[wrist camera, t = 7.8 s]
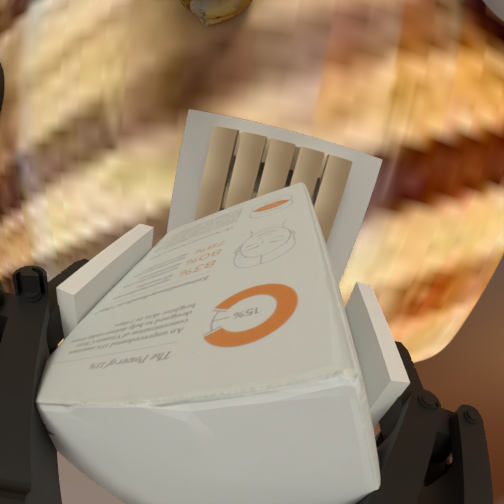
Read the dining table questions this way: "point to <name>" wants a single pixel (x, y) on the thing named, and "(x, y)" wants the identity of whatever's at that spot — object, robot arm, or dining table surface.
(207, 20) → the decorative figurine
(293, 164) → the pallet
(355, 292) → the robot arm
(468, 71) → the dining table surface
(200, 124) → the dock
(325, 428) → the small box
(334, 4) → the dining table surface
